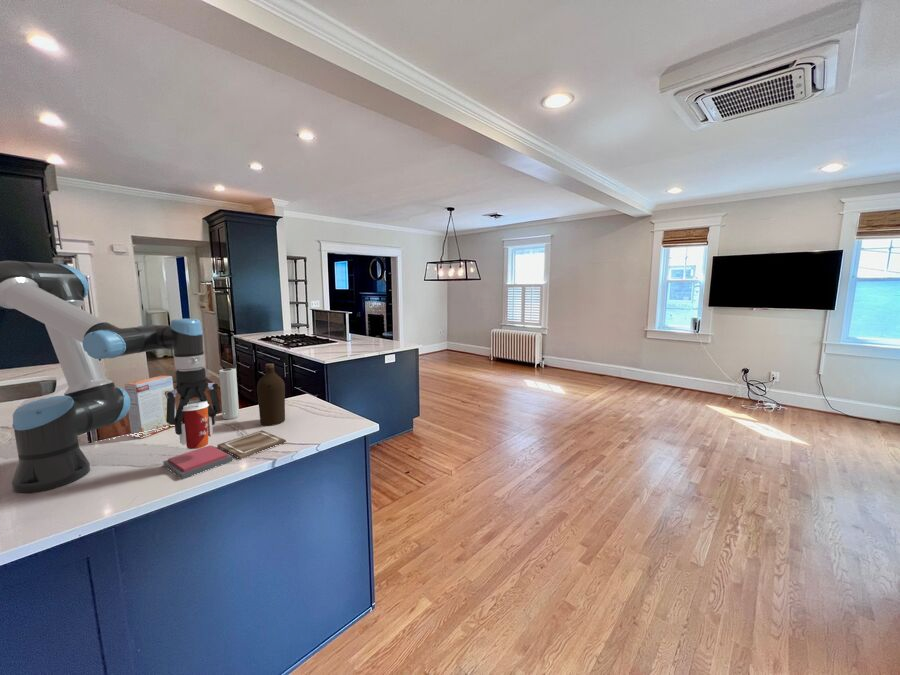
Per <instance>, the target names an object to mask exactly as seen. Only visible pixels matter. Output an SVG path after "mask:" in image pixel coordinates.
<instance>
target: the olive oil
mask: <svg viewBox="0 0 900 675" xmlns="http://www.w3.org/2000/svg"><path fill="white" fill-rule="evenodd" d="M264 369H265V370H264V371H265V373H264V374H263V376H262V377H261V378H260V379H259V380H258V381H257V385H256V393H257V394H256V395H257V403H258V411H259V423H260V425H261V426H268V427H269V426H276V425H279V424H282V423H284V422H285V421H286V384H285V381H284V379H283V378H282V377H281V376H279V375H278V374H277V373H276V372H275V371H276V370H275V364H274V363H273V362H272V363H266V364H265V368H264Z"/></svg>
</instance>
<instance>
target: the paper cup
mask: <svg viewBox="0 0 900 675" xmlns="http://www.w3.org/2000/svg"><path fill="white" fill-rule="evenodd" d="M209 404H210V403H209ZM209 404H208V403H207V401H205V402H203V401H200V399H195V400H194V399H193V400H189V402H188V404H187V406H184V407H183V410H182V411H183V412H184V417H183V420H182V423H184V424H185V432H186V442H187V444H185V445H186V449H189V450H197V449H200V448H203V447H207V446H208V445H209V436H208V406H209Z"/></svg>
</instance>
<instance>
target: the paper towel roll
mask: <svg viewBox="0 0 900 675" xmlns="http://www.w3.org/2000/svg"><path fill="white" fill-rule="evenodd" d="M218 375H219V385H220V386H219V387H220V399H221V414H222V419H224V420H233V419H235V418H238V417H239V416H240V408H239V407H240V406H239V405H240V404H239V394H238V392H239V390H238V381H237V380H238V377H237V368H236V367H234V368H224V369H223V368H222V369H220V370H218ZM224 413H225V414H224Z"/></svg>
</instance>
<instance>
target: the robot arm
mask: <svg viewBox="0 0 900 675" xmlns="http://www.w3.org/2000/svg"><path fill="white" fill-rule="evenodd" d="M89 290H90V285H89V282H88V280H87V277H86V276H85V275H84V274H83V272H81V270H79V269H77V267H76V268H75V267H74V266H71V265H68V264H61V263H57V262H56V263H55V262H50V263H49V262H48V263H47V262H32V261H31V262H30V261H18V260H3V261H2V260H1V261H0V307H1V308H4V309H11V310H12V309H14V310H17V311H19V312H21V313H23V314H25V315H27V316H28V317H30V318H33V319H35V320H37V321H38V322H40V323H42V324H44V325H45V329H46V331H47V333H48V334H47V335H48V336H49V338H50V341H51V344H52V346H53V349H54V352H55V354H56V358H57V360H58V362H59V365H60V367H61V370H62V373H63V375H64V378H65V380H66V383H67V386H68V388H67V389H66V390H65V392H64V393H63V395H56V396H50V397H49V396H48V397H47V398H45V397H44V398H39V399H36V400H34V401H30V402H28V403H25V404H23V405H20V406H19V407H17V408H16V409H15V410H14V412H13V414H12V424H11V425H12V428H13V431H14V437H15V443H16V448H17V449H16V450H17V455H18V456H17V457H18V463H17V465H16V470H15V472H14V475H13V479H12V482H11V483H12V484H11V485H12V489H13V491H14V492H15V493H20V494H28V493H36V492H42V491H47V490H50V489H55V488H58V487H62V486H64V485H68V484H71V483H72V482H75V481H78V480H79V479H82V478H83V477H85V476H86V475H88V474H89V473H90V471H91V465H90V461H89V460H88V458H87V457H86V455H85V454H84V452H83V451H82V450H81V448H80V444H79V437H78V436H80V435H83V434H85V433H86V434H87V433H88V432H92V431H96V430H98V429H101V428H103V427H107V426H110V425H112V424H114V423H117V422H118V421H121V420H122V419H124V418H125V417H126V416H127V415H128V411H129V409H130V397H129V395H128V393H127V392H126V391H125V388H122V387H119V386H116V384H115V382H114V381H113V380H110V379H107V377H106V376H105V373H104V370H103V368H102V365H101V362H100V360H104V359H115V358H119V357H123V356H124V357H125V356H129V355H133V354H140V353H146V352H147V353H148V352H151V351H156V350H157V351H159V350H171V351H173V357H174V360H173V361H174V369H175V370H176V371H175V381H176V386H175V388H173V389H174V390H172V391H166V392H165V396H166V398H167V419H166V422H167V423H169V424H171V425H172V424H174V425H175V426H174V433H175V434H176V435H178V436H179V443H180V444H182V445H183V446H185V445H186V444H187V442H186V432H185V424H184V423H183V422H182V420H183V417H184V412H183V411H182V410H183V407H184V406H187V404H188V402H189V401H191V400H192V399H194V398H198V400H200V401H203V402H205V401H207V403H208V404H209V406H208V437H209V438H210V437H211V438H212V437H213V436H214V433H213V432H214V430H213V429H214V428H213V426H215V425H216V420H215V419H216V418H215V417H216V415H217V414H219V413H221V412H222V408H221V405H220V404H221V403H220V400H219V395H218V391H217V390H218V387H219V385H218V383H215V382H208V381H207V370H206V368H205V366H206V361H205V352H204V338H203V334H204V332H203V328H202V322H201V320H200V319H198V318H177V319H172V320H171V321H170V325H168V324H167V325H166V324H165V325H164V324H163V325H162V324H151V323H150V324H142V325H138V326H136V327H135V326H134V327H124V328H121V327H118V326H116V325H113V324H111V323H110V322H107V321H105V320H104V319H102V318H100V317H97V316H96V315H94V314H92V313H90V312H88V311H86V310H84V309H82V308H81V307H82V306H83V305H84V304H85V301H84V299H85V298H86V297H87V296H88V294H89ZM206 390H208V391H209V395H210V401H211V404H210V401H209V400H208V398H207V396H206V394H205V392H206ZM177 394H179V395H180V398H179V404H178V406H177V408H176V416H175V407H176V397H177Z"/></svg>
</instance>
